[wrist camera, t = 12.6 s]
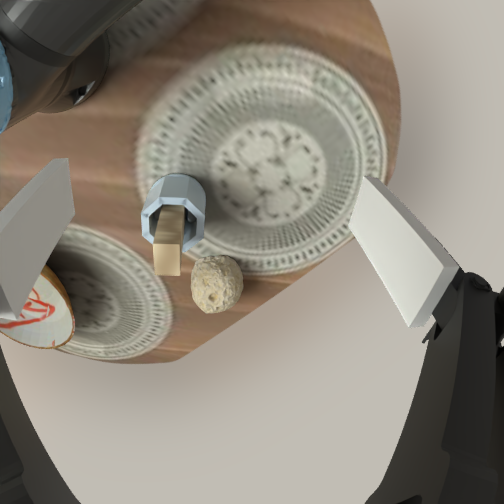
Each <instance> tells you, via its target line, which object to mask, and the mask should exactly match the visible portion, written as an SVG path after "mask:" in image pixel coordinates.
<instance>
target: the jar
mask: <svg viewBox="0 0 504 504" xmlns="http://www.w3.org/2000/svg"><path fill="white" fill-rule="evenodd" d="M162 204H171V205H184V206H185V207H186V220H185V229H184V238H183V248H182V252H186V251H187V250H189V249H190V248H191V247H192V246H194V245H195V244H196V243H198V242H199V241H200V240H202V239H203V238H204V221H205V207H206V195H205V191H204V189H203V187H202V186H201V184H200V183H199V182H198V181H197V180H196V179H194V178H193V177H191V176H188V175H186V174H180V173H173V174H168V175H165V176H163V177H161V178H160V179H158V180H157V181H156V182H155V183H154V185H153V186H152V188H151V190H150V191H149V193H148V195H147V198H146V201H145V204H144V207H143V209H142V212H141V220H142V236H143V237H144V238H146V239H147V240H148V241H149V242H150V243H152V244H153V241H154V237H155V232H156V228H157V224H158V220H159V216H160V212H161V208H162Z"/></svg>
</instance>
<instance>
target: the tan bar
mask: <svg viewBox="0 0 504 504" xmlns="http://www.w3.org/2000/svg"><path fill="white" fill-rule="evenodd" d="M185 220H186V207H185V206H184V205H171V204H162V208H161V212H160V216H159V220H158V224H157V228H156V232H155V237H154V241H153V254H154V268H155V275H170V276H180V270H181V259H182V248H183V238H184V229H185Z"/></svg>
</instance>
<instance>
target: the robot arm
mask: <svg viewBox="0 0 504 504" xmlns="http://www.w3.org/2000/svg"><path fill="white" fill-rule="evenodd" d="M141 1H142V0H0V134H1V133H2V132H3V131H5V130H7V129H8V128H10V127H12V126H13V125H15V124H17V123H18V122H20V121H22V120H24V119H25V118H27V117H29V116H31V115H32V114H34V113H36V112H41V113H58V112H62V111H66V110H68V109H70V108H72V107H74V106H76V105H78V104H80V103H81V102H83V101H84V100H86V99H87V98H88V97H89V96H90V95H91V94H92V93H93V92H94V91H95V90H96V88H97V87H98V86H99V84H100V82H101V81H102V79H103V77H104V74H105V72H106V69H107V66H108V61H109V42H108V37H107V34H106V32H105V30H107V29H108V28H109V27H110V26H111V25H112V24H114V23H115V22H116V21H117V20H118V19H120V18H121V17H122V16H123V15H124V14H126V13H127V12H128V11H129V10H131V9H132V8H133V7H135V6H136V5H137V4H138V3H140V2H141ZM74 215H75V210H74V203H73V196H72V189H71V181H70V172H69V162H68V158H60V159H53V160H51V161H50V162H49V163H48V164H47V165H46V166H45V167H44V168H43V169H42V170H41V171H40V172H39V173H38V174H36V175H35V176H34V177H33V178H32V179H31V180H30V181H29V182H28V183H27V184H26V185H25V186H24V187H23V188H22V189H21V190H20V191H19V192H18V193H17V195H16V196H15V197H14V198H13V199H12V200H11V201H10V202H9V203H8V204H7V205H6V206H5V207H4V208H3V210H2V211H1V212H0V318H4V319H11V320H18V317H19V315H20V313H21V311H22V309H23V307H24V304H25V302H26V300H27V298H28V296H29V294H30V292H31V290H32V288H33V286H34V284H35V282H36V280H37V278H38V277H39V275H40V273H41V271H42V269H43V267H44V265H45V264H46V262H47V260H48V258H49V256H50V255H51V253H52V251H53V249H54V248H55V246H56V244H57V242H58V241H59V239H60V237H61V236H62V234H63V232H64V231H65V229H66V227H67V226H68V224H69V223H70V221H71V219H72V218H73V216H74ZM348 227H349V228H350V230H351V231H352V233H353V235H354V236H355V238H356V239H357V241H358V242H359V244H360V246H361V247H362V249H363V250H364V252H365V254H366V255H367V257H368V258H369V260H370V262H371V263H372V265H373V267H374V268H375V270H376V272H377V273H378V275H379V277H380V278H381V280H382V282H383V283H384V285H385V287H386V289H387V290H388V292H389V294H390V295H391V297H392V299H393V301H394V303H395V304H396V306H397V308H398V309H399V311H400V313H401V315H402V317H403V319H404V321H405V322H406V324H407V326H408V327H409V328H411V327H420V326H424V325H425V324H426V322H427V321H428V319H429V318H430V316H431V314H432V315H433V316H434V318H435V319H436V322H435V323H434V325H433V326H432V328H431V329H430V331H429V332H428V334H427V335H426V336H425V338H424V339H423V341H422V343H425V342H426V340H429V341H428V346H427V350H426V354H425V359H424V363H423V366H422V370H421V374H420V377H419V381H418V384H417V388H416V391H415V395H414V398H413V401H412V404H411V407H410V410H409V414H408V416H407V419H406V422H405V425H404V428H403V431H402V434H401V436H400V439H399V442H398V444H397V447H396V449H395V452H394V454H393V457H392V459H391V462H390V464H389V466H388V469H387V471H386V473H385V476H384V478H383V480H382V482H381V484H380V485H379V487H378V488H377V490H376V491H375V492H374V493H373V494H372V495H371V496H370V497H369V498H368V500H367V501H366V502H365V504H504V346H503V347H502V346H501V341H502V339H503V338H504V288H503V289H502V291H501V292H500V293H497V292H493V291H492V288H491V286H490V285H489V283H488V282H487V281H486V280H485V279H484V278H482V277H481V276H479V275H477V274H475V273H472V272H467V273H464V271H463V270H462V268H461V267H460V266H459V265H458V264H457V262H456V261H455V260H454V259H453V257H452V256H451V255H450V254H448V252H447V250H446V249H445V248H443V246H442V245H441V243H440V242H439V241H438V240H437V239H436V238H435V237H434V236H433V235H432V234H431V233H430V232H429V231H428V230H427V229H426V227H425V226H424V225H423V224H422V223H421V222H420V221H419V220H418V219H417V218H416V216H415V215H414V214H413V213H412V212H411V211H410V210H409V209H408V208H407V207H406V206H405V205H404V204H403V203H402V202H401V201H400V200H399V199H398V198H397V197H396V196H395V195H394V194H393V193H392V192H391V191H390V190H389V189H388V188H387V187H386V186H385V185H384V184H383V183H382V182H381V181H380V180H379V179H378V178H375V177H369V176H364V177H363V180H362V183H361V187H360V190H359V193H358V197H357V200H356V203H355V207H354V210H353V213H352V216H351V219H350V222H349V225H348ZM0 504H81V503H80V502H79V501H78V500H77V499H76V498H75V496H74V495H73V493H72V492H71V491H70V489H69V487H68V486H67V485H66V483H65V481H64V480H63V478H62V477H61V475H60V473H59V472H58V470H57V469H56V467H55V465H54V464H53V462H52V460H51V459H50V457H49V455H48V453H47V452H46V450H45V448H44V446H43V444H42V442H41V440H40V439H39V437H38V435H37V433H36V431H35V429H34V427H33V425H32V423H31V421H30V419H29V417H28V414H27V412H26V410H25V408H24V406H23V403H22V401H21V399H20V397H19V394H18V392H17V389H16V387H15V384H14V382H13V379H12V377H11V374H10V372H9V369H8V366H7V364H6V361H5V358H4V355H3V352H2V349H1V346H0Z"/></svg>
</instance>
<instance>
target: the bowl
mask: <svg viewBox="0 0 504 504" xmlns="http://www.w3.org/2000/svg"><path fill="white" fill-rule="evenodd" d="M74 331H75V318H74V313H73V310H72V306H71V302H70V299H69V297H68V295H67V292H66V290H65V288H64V286H63V285H62V283H61V282H60V280H59V279H58V277H57V276H56V275H55V273H54V272H53V271H52V270H51V269H50V268H49V267H48V266H47V265H46V264H45V265H44V267H43V269H42V271H41V273H40V275H39V277H38V278H37V280H36V282H35V284H34V286H33V288H32V290H31V292H30V294H29V296H28V298H27V300H26V302H25V304H24V307H23V309H22V311H21V313H20V315H19V317H18V320H11V319H4V318H0V332H1V333H2V334H4V335H6V336H7V337H9V338H10V339H12V340H14V341H17V342H19V343H21V344H24V345H27V346H30V347H34V348H39V349H40V348H41V349H52V348H58V347H60V346H63V345H65V344H66V343H67V342H69V341H70V339H71V338H72V336H73V334H74Z"/></svg>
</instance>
